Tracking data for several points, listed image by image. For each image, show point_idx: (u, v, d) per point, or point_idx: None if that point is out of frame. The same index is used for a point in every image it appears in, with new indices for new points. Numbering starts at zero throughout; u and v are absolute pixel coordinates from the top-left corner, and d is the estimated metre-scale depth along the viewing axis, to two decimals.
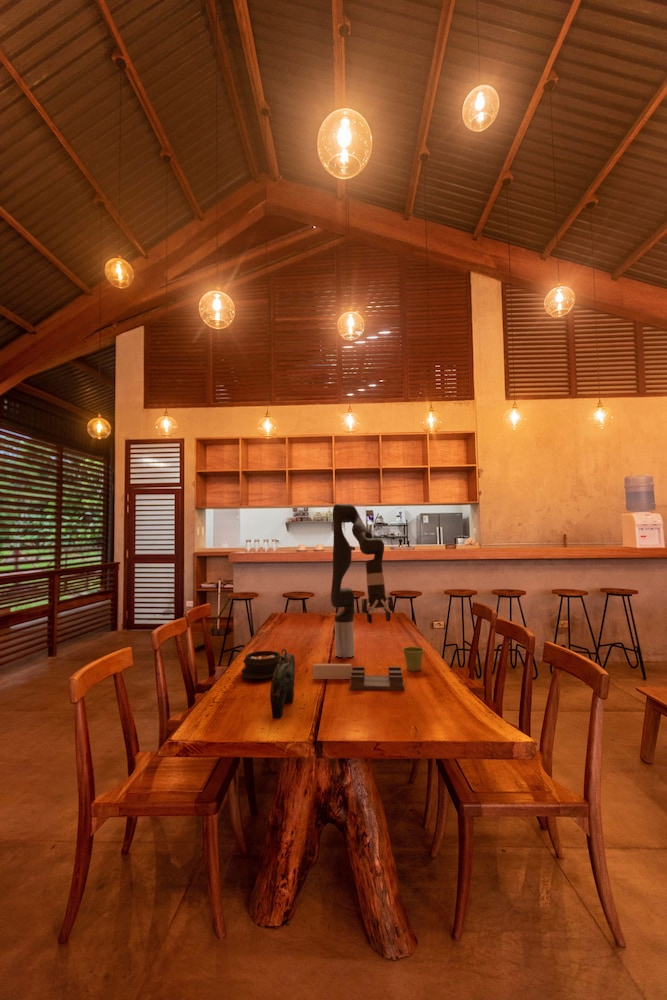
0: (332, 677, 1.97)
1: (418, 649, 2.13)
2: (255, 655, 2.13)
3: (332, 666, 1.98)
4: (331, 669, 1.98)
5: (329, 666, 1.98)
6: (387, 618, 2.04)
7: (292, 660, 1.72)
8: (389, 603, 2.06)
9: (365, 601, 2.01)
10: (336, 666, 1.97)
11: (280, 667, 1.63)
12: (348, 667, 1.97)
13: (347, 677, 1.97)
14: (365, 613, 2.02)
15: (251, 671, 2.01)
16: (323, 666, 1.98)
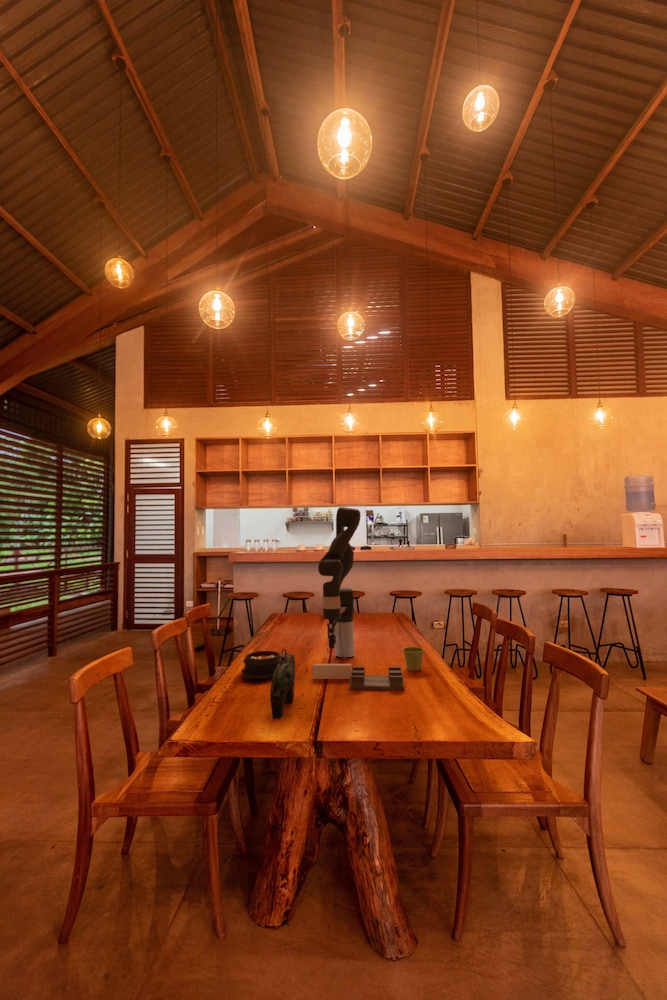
0: (332, 677, 1.97)
1: (418, 649, 2.13)
2: (255, 655, 2.13)
3: (332, 666, 1.98)
4: (331, 669, 1.98)
5: (329, 666, 1.98)
6: None
7: (292, 660, 1.72)
8: None
9: None
10: (336, 666, 1.97)
11: (280, 667, 1.63)
12: (348, 667, 1.97)
13: (347, 677, 1.97)
14: None
15: (251, 671, 2.01)
16: (323, 666, 1.98)
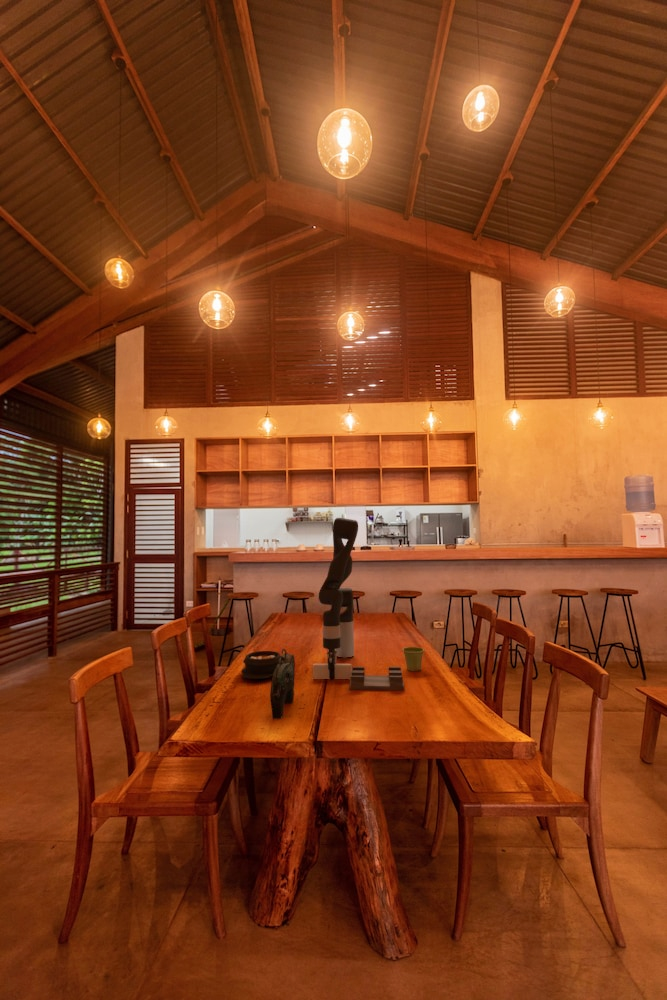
0: None
1: (418, 649, 2.13)
2: (255, 655, 2.13)
3: (332, 666, 1.98)
4: None
5: None
6: None
7: (292, 660, 1.72)
8: None
9: None
10: (336, 666, 1.97)
11: (280, 667, 1.63)
12: (348, 667, 1.97)
13: (347, 677, 1.97)
14: None
15: (251, 671, 2.01)
16: (323, 666, 1.98)
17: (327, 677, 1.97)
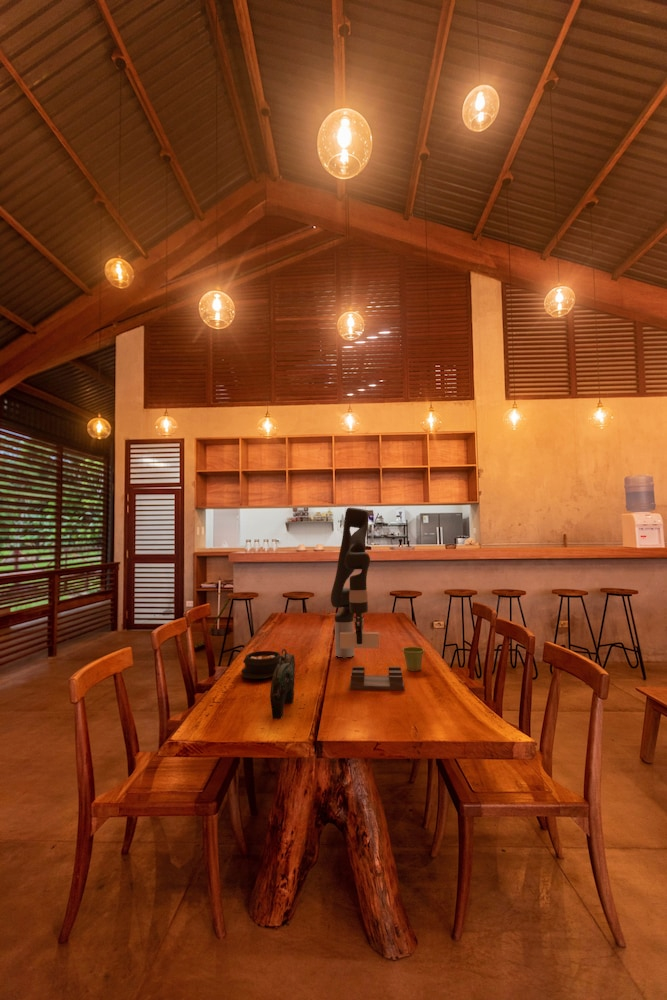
0: (359, 645, 1.94)
1: (418, 649, 2.13)
2: (255, 655, 2.13)
3: None
4: None
5: None
6: None
7: (292, 660, 1.72)
8: None
9: None
10: (363, 634, 1.95)
11: (280, 667, 1.63)
12: (375, 635, 1.94)
13: (375, 645, 1.94)
14: None
15: (251, 671, 2.01)
16: (350, 634, 1.95)
17: (354, 646, 1.95)
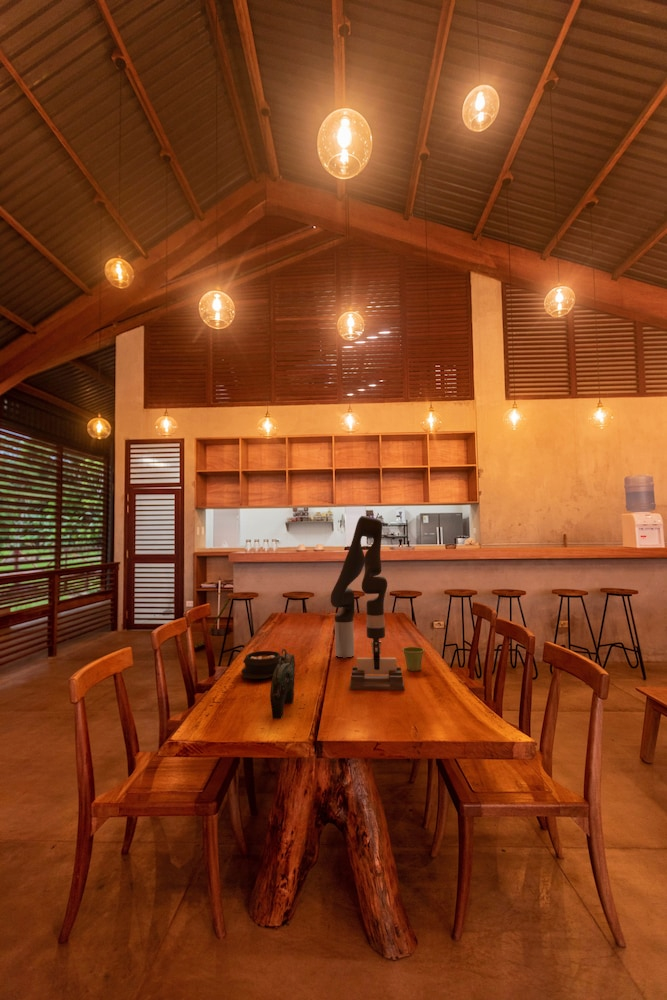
0: (377, 671, 1.92)
1: (418, 649, 2.13)
2: (255, 655, 2.13)
3: None
4: None
5: None
6: None
7: (292, 660, 1.72)
8: None
9: None
10: (381, 660, 1.93)
11: (280, 667, 1.63)
12: (393, 661, 1.92)
13: None
14: None
15: (251, 671, 2.01)
16: (367, 660, 1.93)
17: (372, 671, 1.93)
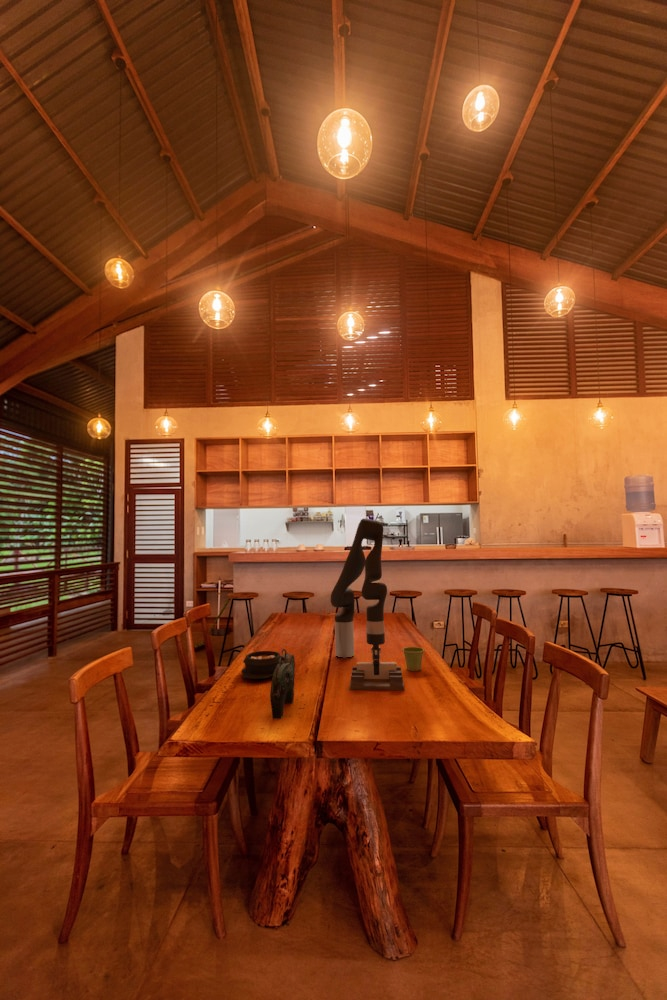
0: (377, 675, 1.92)
1: (418, 649, 2.13)
2: (255, 655, 2.13)
3: None
4: None
5: None
6: None
7: (292, 660, 1.72)
8: None
9: None
10: (381, 664, 1.93)
11: (280, 667, 1.63)
12: (393, 665, 1.92)
13: None
14: None
15: (251, 671, 2.01)
16: (367, 664, 1.93)
17: (372, 676, 1.93)
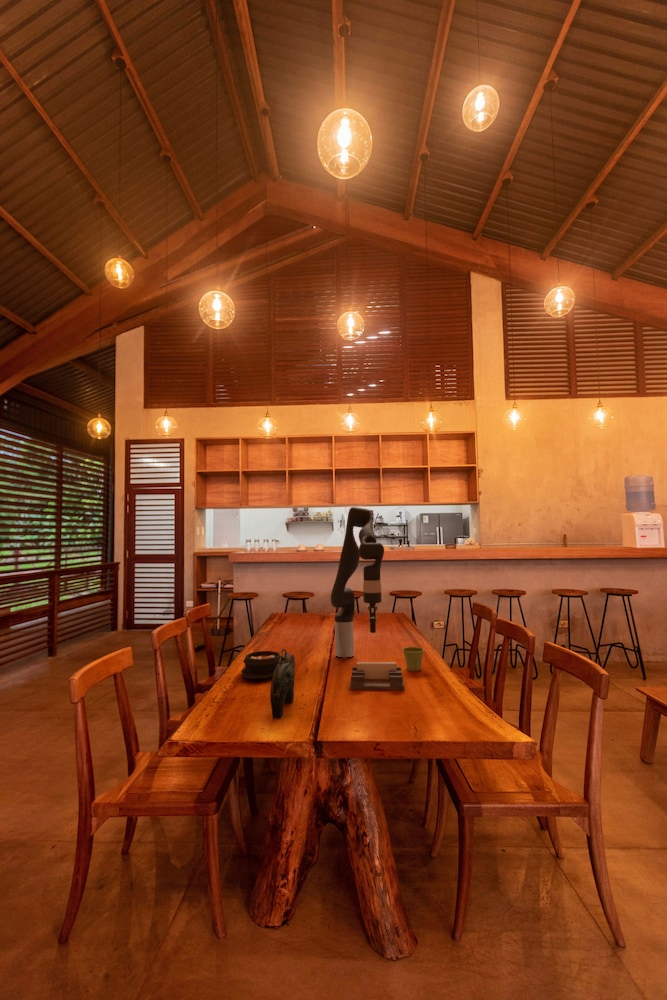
0: (377, 675, 1.92)
1: (418, 649, 2.13)
2: (255, 655, 2.13)
3: (377, 664, 1.93)
4: (375, 668, 1.93)
5: (374, 664, 1.93)
6: None
7: (292, 660, 1.72)
8: None
9: None
10: (381, 664, 1.93)
11: (280, 667, 1.63)
12: (393, 665, 1.92)
13: None
14: None
15: (251, 671, 2.01)
16: (367, 664, 1.93)
17: (372, 676, 1.93)
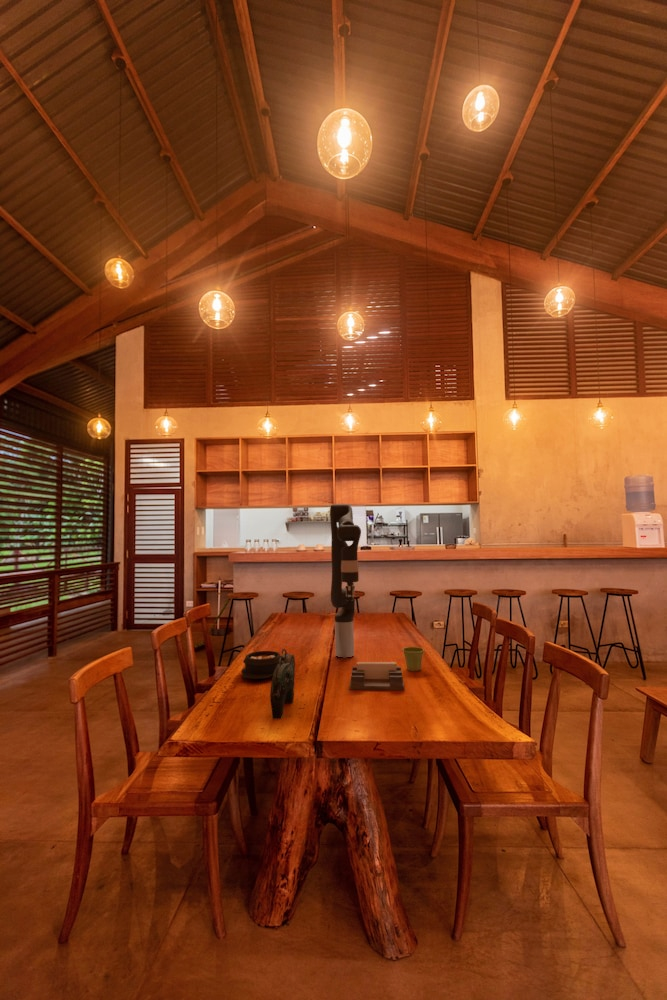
0: (377, 675, 1.92)
1: (418, 649, 2.13)
2: (255, 655, 2.13)
3: (377, 664, 1.93)
4: (375, 668, 1.93)
5: (374, 664, 1.93)
6: None
7: (292, 660, 1.72)
8: None
9: None
10: (381, 664, 1.93)
11: (280, 667, 1.63)
12: (393, 665, 1.92)
13: None
14: None
15: (251, 671, 2.01)
16: (367, 664, 1.93)
17: (372, 676, 1.93)
